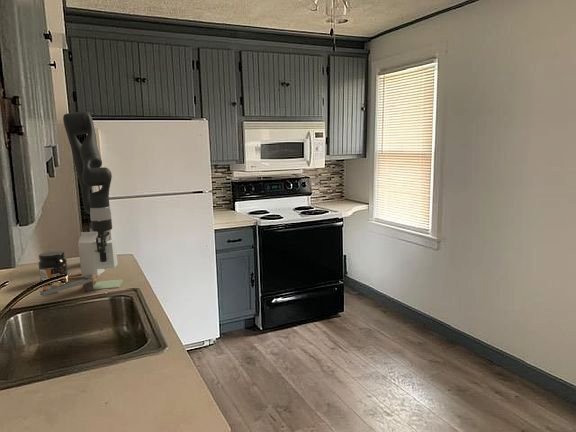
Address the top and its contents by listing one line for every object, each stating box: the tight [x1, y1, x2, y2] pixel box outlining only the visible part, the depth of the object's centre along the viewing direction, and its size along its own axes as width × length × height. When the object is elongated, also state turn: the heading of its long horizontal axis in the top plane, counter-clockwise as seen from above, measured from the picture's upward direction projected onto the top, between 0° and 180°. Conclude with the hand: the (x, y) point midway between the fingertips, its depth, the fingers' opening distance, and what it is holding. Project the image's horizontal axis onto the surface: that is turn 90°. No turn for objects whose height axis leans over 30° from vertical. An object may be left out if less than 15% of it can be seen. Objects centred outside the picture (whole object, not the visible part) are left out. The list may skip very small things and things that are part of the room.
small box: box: [91, 239, 118, 270], centre depth 172 cm, size 8×6×10 cm
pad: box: [93, 278, 123, 291], centre depth 173 cm, size 10×10×1 cm
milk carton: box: [77, 231, 106, 277], centre depth 188 cm, size 7×7×19 cm
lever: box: [39, 275, 93, 297], centre depth 159 cm, size 3×19×3 cm, turn 146°
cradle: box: [50, 275, 98, 294], centre depth 171 cm, size 15×15×3 cm
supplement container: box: [37, 250, 69, 282], centre depth 180 cm, size 10×10×12 cm
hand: (105, 259), depth 172 cm, fingers closed on small box, 5 cm apart
